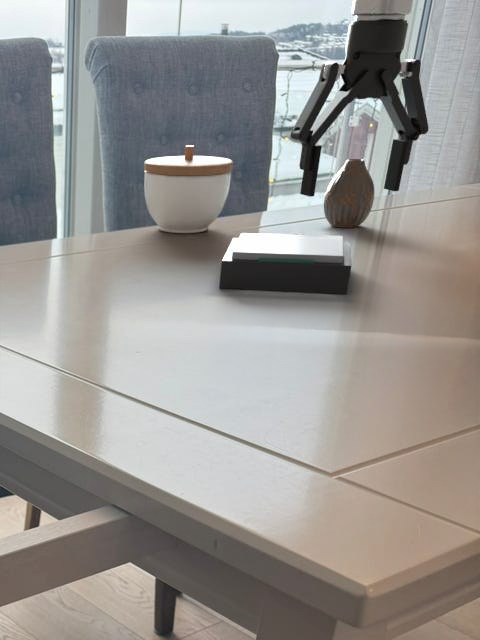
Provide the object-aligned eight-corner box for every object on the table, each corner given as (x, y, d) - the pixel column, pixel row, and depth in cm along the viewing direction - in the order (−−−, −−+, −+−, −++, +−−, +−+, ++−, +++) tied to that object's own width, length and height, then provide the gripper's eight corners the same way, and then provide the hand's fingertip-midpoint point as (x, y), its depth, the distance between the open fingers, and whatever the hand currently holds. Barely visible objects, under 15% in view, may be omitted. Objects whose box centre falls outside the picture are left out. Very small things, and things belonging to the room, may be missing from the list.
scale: (345, 267, 115) (351, 234, 113) (346, 294, 103) (353, 258, 101) (230, 263, 118) (233, 231, 116) (218, 288, 107) (222, 253, 105)
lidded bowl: (241, 227, 139) (251, 143, 133) (197, 240, 131) (205, 152, 125) (170, 218, 146) (176, 139, 140) (123, 230, 138) (128, 147, 132)
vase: (311, 226, 139) (321, 160, 134) (335, 219, 143) (346, 155, 138) (353, 231, 134) (365, 163, 130) (377, 225, 138) (390, 159, 133)
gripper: (444, 16, 130) (410, 184, 142) (280, 20, 125) (259, 193, 137) (479, 16, 124) (440, 191, 135) (308, 20, 119) (283, 201, 131)
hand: (349, 192), depth 136 cm, fingers open, 13 cm apart
